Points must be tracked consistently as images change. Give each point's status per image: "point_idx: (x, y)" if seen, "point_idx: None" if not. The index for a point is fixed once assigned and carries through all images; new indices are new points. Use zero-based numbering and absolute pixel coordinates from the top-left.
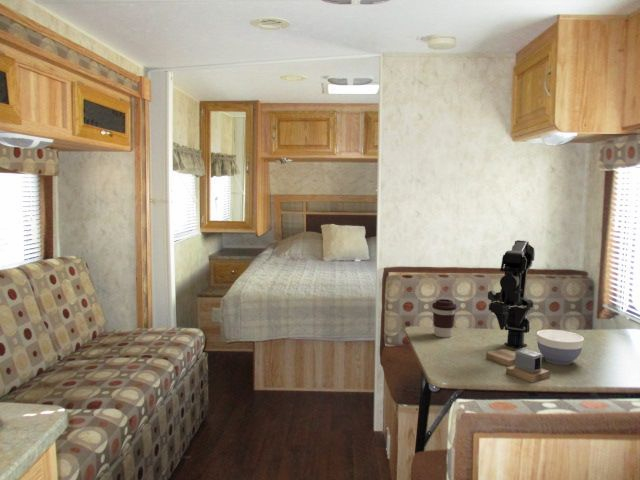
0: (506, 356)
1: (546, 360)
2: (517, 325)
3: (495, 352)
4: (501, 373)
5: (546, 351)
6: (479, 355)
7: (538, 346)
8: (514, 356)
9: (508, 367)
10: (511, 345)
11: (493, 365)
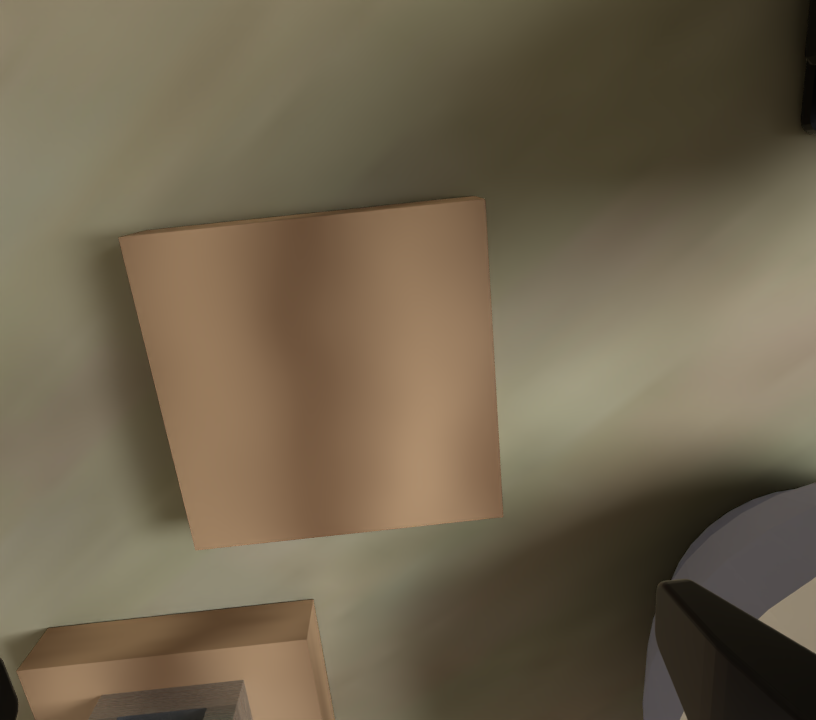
0: (271, 443)
1: (685, 553)
2: (661, 629)
3: (249, 277)
4: (4, 614)
5: (645, 706)
6: (131, 105)
7: (716, 589)
8: (361, 478)
9: (43, 673)
10: (808, 39)
11: (69, 439)
